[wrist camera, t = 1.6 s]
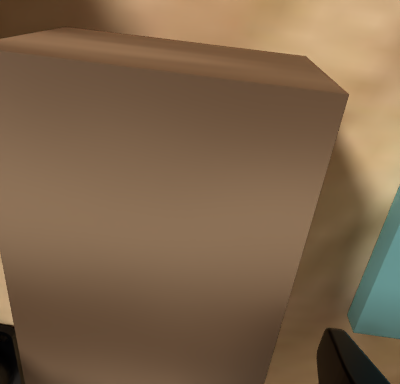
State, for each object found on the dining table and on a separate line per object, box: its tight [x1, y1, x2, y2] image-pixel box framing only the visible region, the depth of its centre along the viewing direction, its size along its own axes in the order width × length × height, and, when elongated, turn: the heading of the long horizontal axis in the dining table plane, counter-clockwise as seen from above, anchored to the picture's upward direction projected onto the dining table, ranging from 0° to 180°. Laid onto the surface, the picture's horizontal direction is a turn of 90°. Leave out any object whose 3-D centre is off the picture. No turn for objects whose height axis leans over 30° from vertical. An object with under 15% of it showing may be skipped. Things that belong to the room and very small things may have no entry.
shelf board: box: [0, 27, 349, 384], centre depth 10 cm, size 12×6×4 cm, turn 174°
